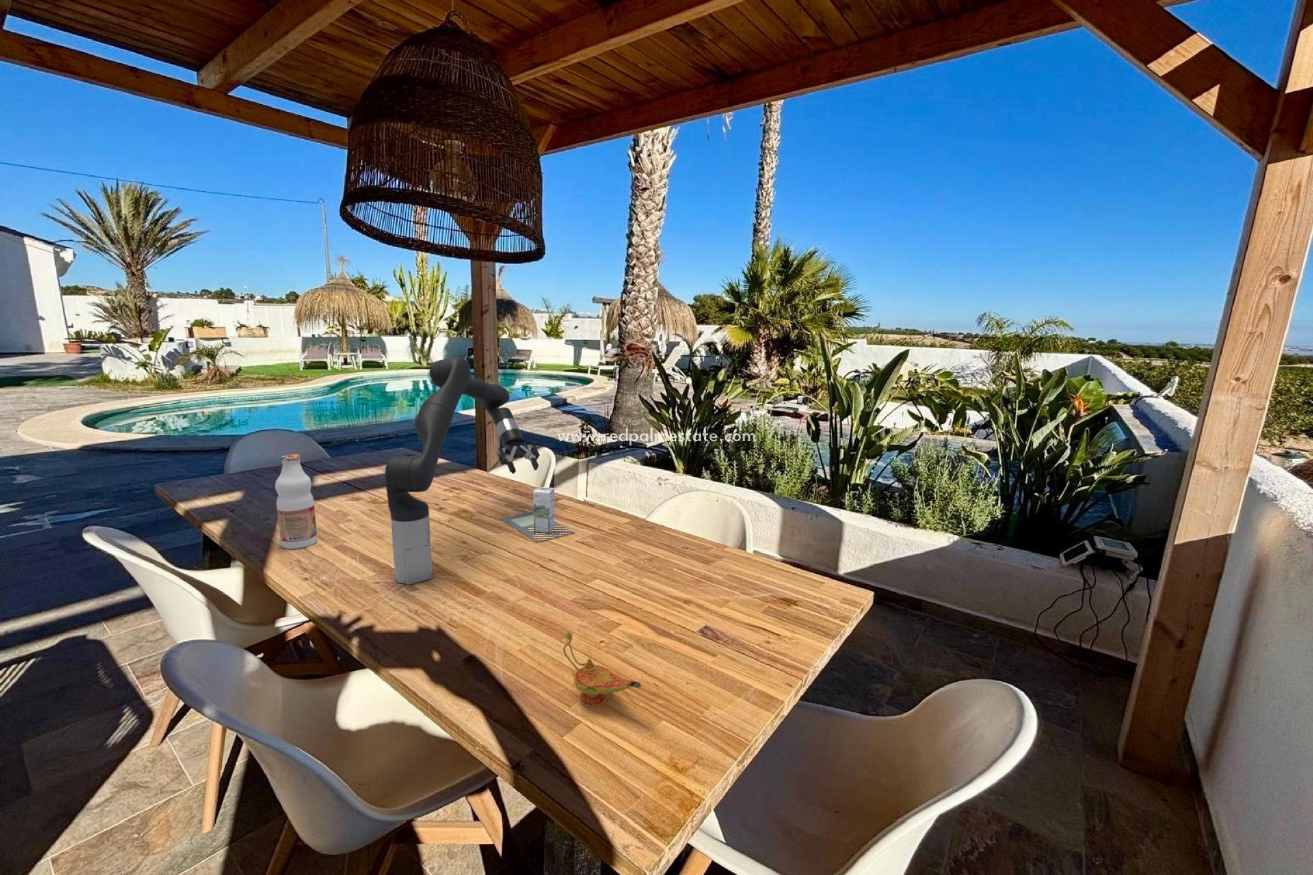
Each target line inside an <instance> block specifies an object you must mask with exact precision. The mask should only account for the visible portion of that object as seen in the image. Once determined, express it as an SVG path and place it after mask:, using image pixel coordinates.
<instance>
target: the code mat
mask: <svg viewBox="0 0 1313 875" xmlns="http://www.w3.org/2000/svg"><path fill="white" fill-rule="evenodd" d="M533 517H534V510H533V511H529V512H524V513H518V514H516V515H509V516H505V517H500V518H499V519H498V520H499V521H501V520H502V521H503V523H504V522H505V523H504V524H506V525H507V524H508V525H507V526H509V525H510V526H509V527H511V526H512V527H513V528H512V527H511V528H512V529H514V528H515V529H516V531H517V530H518V531H517V532H519V533H520V532H521V533H520V534H522V533H523V534H522V535H524V536H525V535H526V536H525V537H527V536H528V537H527V538H529V537H530V538H531V537H532V538H531V540H532V539H551V540H553V539H552V538H533V537H559V538H561V537H560V536H559V535H566V536H569V535H568V534H569V533H570V535H572V534H571V533H574V534H576V532H575V531H573V530H571V531H551V532H550V533H545V534H544V533H543V534H540V532H534V531H529V530H534V529H528V528H534V527H533V526H534V525H533V524H534V518H533ZM502 521H501V522H502ZM554 523H555V524H556V525H555V526H562V525H561V524H560V523H557V522H556V521H554ZM558 524H559V525H558ZM531 526H532V527H531ZM554 528H566V527H565V526H563V527H554ZM515 529H514V530H515ZM553 530H570V529H569V528H567V529H553ZM536 533H539V534H536ZM552 533H553V534H552ZM560 533H561V534H560ZM562 533H564V534H562ZM565 533H567V534H565ZM533 535H534V536H533ZM535 535H545V536H535ZM546 535H548V536H546ZM549 535H552V536H549ZM554 535H555V536H554ZM556 535H557V536H556ZM530 538H529V539H530ZM533 541H534V542H535V541H543V542H545V541H544V540H533Z"/></svg>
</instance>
